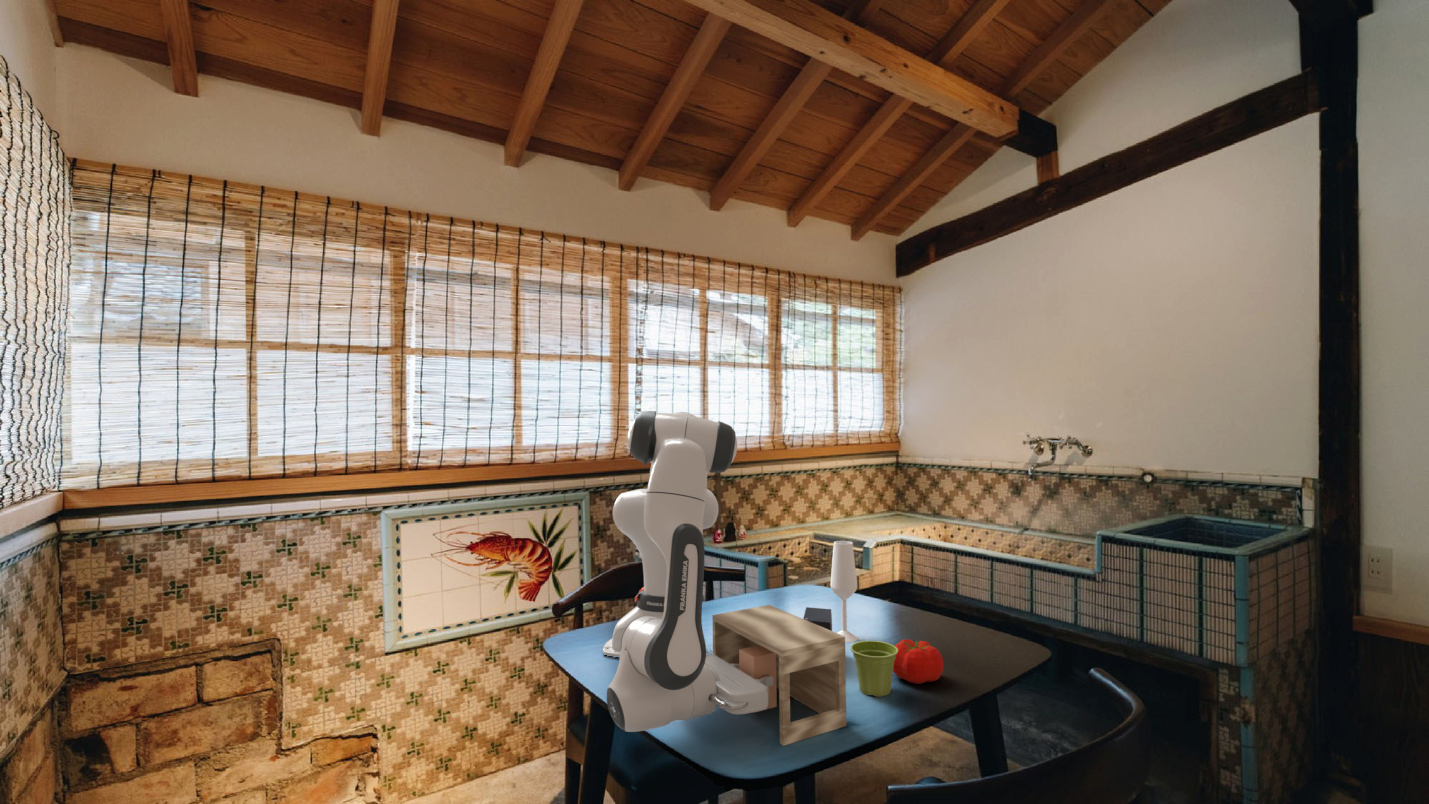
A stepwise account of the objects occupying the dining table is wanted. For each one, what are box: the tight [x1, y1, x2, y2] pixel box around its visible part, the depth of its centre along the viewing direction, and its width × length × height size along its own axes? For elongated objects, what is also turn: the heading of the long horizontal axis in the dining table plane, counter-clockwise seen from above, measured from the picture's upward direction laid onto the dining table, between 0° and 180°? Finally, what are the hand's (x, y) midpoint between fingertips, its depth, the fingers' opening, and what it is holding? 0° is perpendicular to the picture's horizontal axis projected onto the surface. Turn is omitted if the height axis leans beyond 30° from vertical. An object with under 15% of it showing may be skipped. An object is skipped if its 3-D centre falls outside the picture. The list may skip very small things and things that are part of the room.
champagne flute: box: [830, 540, 859, 643], centre depth 167 cm, size 7×7×24 cm
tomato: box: [893, 638, 945, 685], centre depth 140 cm, size 11×11×8 cm
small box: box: [802, 606, 833, 631], centre depth 152 cm, size 11×6×10 cm, turn 168°
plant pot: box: [850, 640, 898, 698], centre depth 134 cm, size 9×9×9 cm
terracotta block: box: [739, 645, 778, 713], centre depth 124 cm, size 5×5×10 cm
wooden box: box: [711, 604, 847, 746], centre depth 126 cm, size 14×24×16 cm, turn 30°
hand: (761, 673), depth 124 cm, fingers closed on terracotta block, 5 cm apart
